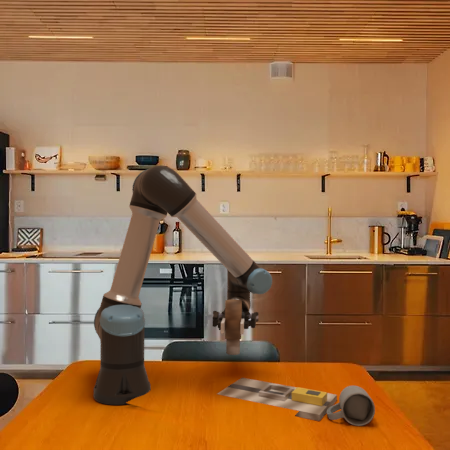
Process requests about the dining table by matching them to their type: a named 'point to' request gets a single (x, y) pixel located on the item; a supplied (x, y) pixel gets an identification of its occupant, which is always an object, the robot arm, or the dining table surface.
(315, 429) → the dining table surface
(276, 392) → the subfloor panel
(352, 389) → the ceramic mug
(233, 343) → the brown tall rounded piece
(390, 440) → the dining table surface
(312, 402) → the block
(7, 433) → the dining table surface
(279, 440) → the dining table surface
